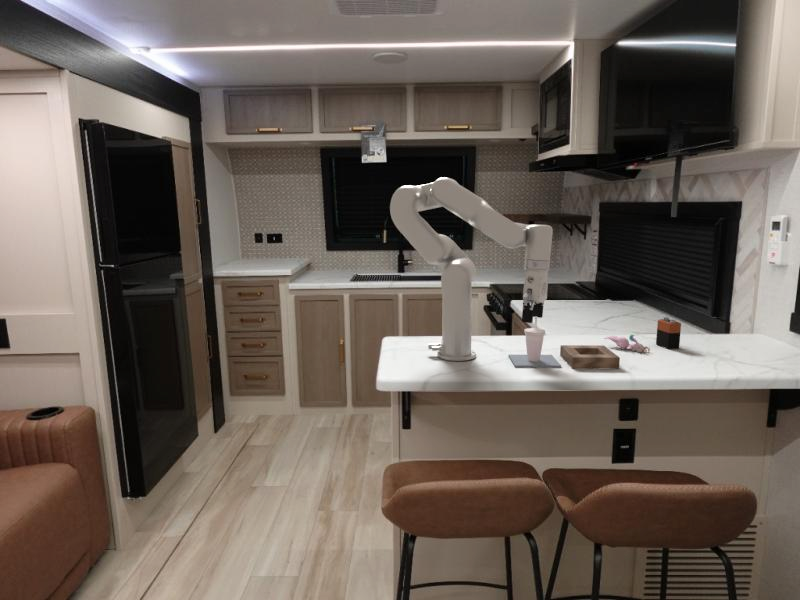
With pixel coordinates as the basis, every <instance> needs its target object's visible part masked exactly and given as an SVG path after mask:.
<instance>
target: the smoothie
mask: <svg viewBox="0 0 800 600" xmlns="http://www.w3.org/2000/svg"><path fill="white" fill-rule="evenodd" d="M537 323H538V317H537V316H535V317H534V327H528V328H524V334H525V336H524V337H525V345H526V355H527V358H528V360H529V361H533V362H536V361H540V355H542V354H541V353H542V347H543V342H544V337H545V335H546V330H545V329H543V328H540V327H539V328H538V326H537Z"/></svg>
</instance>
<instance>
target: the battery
mask: <svg viewBox="0 0 800 600" xmlns="http://www.w3.org/2000/svg"><path fill="white" fill-rule="evenodd" d="M681 330H682V322H679V321H677V319H671V318H670V317H667V316H663V317H662V318H661V319H658V320H657V327H656V337H655V338H656V341H655V344H656V345H657V346H659V347H661V348H664V347H665V349H667V350H676V349H680V343H681V342H680V341H681Z"/></svg>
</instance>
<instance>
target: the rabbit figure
mask: <svg viewBox="0 0 800 600" xmlns="http://www.w3.org/2000/svg"><path fill="white" fill-rule="evenodd" d="M634 337H635V335H634V334H630V335H629V338H626V337H624V336H620V337H618V336H615V335H609V336H606V337H604V338H603V339H604V340H605V339H606V340H611V342H613V343H615V344H616V347H619V348H621V349H622V350H626V349H628V348H629V349H630V350H632V351H635V352H637V353H639V354H642V353H643V352H644V354H646V353H650V351H651V349H650V348H651V347H648V346H644V345H643V344H642V343H639V342H638V340H637V339H636V338H634ZM628 339H629V340H630V341H629V340H628ZM630 342H634V343H632V344H631V343H630ZM647 350H648V351H647ZM646 355H647V354H646Z"/></svg>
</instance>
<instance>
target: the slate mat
mask: <svg viewBox="0 0 800 600" xmlns="http://www.w3.org/2000/svg"><path fill="white" fill-rule="evenodd" d="M508 358H509V360H510V362H511V363H512V365H513V366H515V367H514V368H562V365H561V363H559V361H558V360H557V359H556V358H555V357H554V356H553V354H541V355H540V361H536V362H533V361H529V360H528V358H527V354H508Z"/></svg>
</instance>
